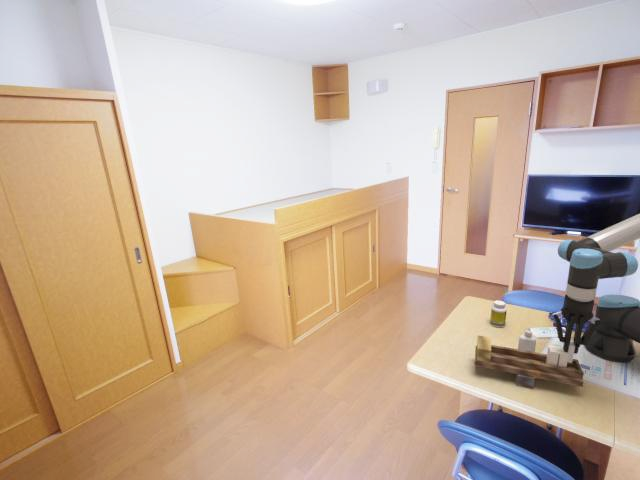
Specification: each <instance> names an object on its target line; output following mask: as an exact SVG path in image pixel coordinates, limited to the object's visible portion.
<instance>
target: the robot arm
mask: <svg viewBox="0 0 640 480" xmlns="http://www.w3.org/2000/svg"><path fill="white" fill-rule="evenodd" d="M639 239H640V213H638V214H636V215H634V216H631V217H629V218H627V219H624V220H621V221H620V222H618V223H615V224H613V225H611V226H608V227H605V228H604V229H603V230H602V229H601V230H599V231H597V232H596V233H593V234H591V235H589V236H586V237H584V238H582V239H580V240H575V239H565V240H563V241H562V242H561V243H559V244H558V248H557V254H558V257H560V258H561V259H562V260H565V261H567V262H569V268H568V276H567V282H566V283H567V284H566V288H565V294H564V300H563V304H562V305H563V306H562V308H561V309H560V311H558V312H556V311H552V312H551V314H552V316H553V318H554V321H555V325H556V333H557V338H558V340H559V342H561V343H563V346H562V347H563V350H564V352H568V354H569V355H568V361H567V362H568V363H572V361H573V359H574V355H576V354H578V353H579V348H580V347H581V346H584V347H585V348H586V350H587V351H588V352H590V353H591V354H593V355H595V356H597V357H599V358H601V359H604V360H607V361H611V362H616V363H630V362H633V361H634V360H635V358H636V349H635V344H634V341H635V342H636V343H637V344H640V300H639V299H638V298H636V297H633V296H628V295H623V294H604V295H601V296H599V298H598V302H597V304H596V308H595V309H596V310H595V316H594V313H593V310H594V306H595V299H596V295H597V289H598V288H597V287H598V283H599V280H604V279H611V278H612V279H613V278H624V277H628V276H632V275H634V274H635V273H636V272H637V271H638V268H639V262H638V259H637V258H636V257H635V255H633V254H631V253H630V252H622V251H618V252H613V251H614V250H616V249H619V248H621V247H623V246H625V245H628V244H630V243H633V242H634V241H636V240H639ZM562 318H564V319H565V320H566V326H565V332H564V333H563V328H562V327H563V326H562V321H561V319H562ZM587 322H589V323H588V325H587V326H586V328H585V330H584V332H583V329H584V327H585V324H586V323H587ZM574 325H575V329H574V335H573V328H574ZM572 336H573V340H572Z"/></svg>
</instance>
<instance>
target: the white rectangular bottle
mask: <svg viewBox="0 0 640 480" xmlns="http://www.w3.org/2000/svg"><path fill="white" fill-rule="evenodd" d="M536 345H537V338H535V336H533V331H532V330H531V328H530V327H527V329H525V330H524V334H521V335H519V338H518V345H517V349H518V350H524V351H530V352H531V351H532V352H536Z"/></svg>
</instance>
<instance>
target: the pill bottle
mask: <svg viewBox="0 0 640 480" xmlns="http://www.w3.org/2000/svg"><path fill="white" fill-rule="evenodd" d="M490 309H491V310H490V320H489V321H490V324H491V325H492V326H493V327H495V328H496V327H498V328H503V327H505V325H506V320H507V310H508V309H507V308H506V301H503V300H497V299H496V300H494V301H493V305H492V306H491V308H490Z"/></svg>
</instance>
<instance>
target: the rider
mask: <svg viewBox="0 0 640 480" xmlns="http://www.w3.org/2000/svg"><path fill="white" fill-rule="evenodd" d="M547 346H548V347H547V353H546V354H547V358H546V364H548V365H554V366H559V367H565V368H566V367H567V361H568V355H569V354H568V352H564V350H563V346H562V347H561V346H555V345H549V344H548V345H547Z"/></svg>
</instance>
